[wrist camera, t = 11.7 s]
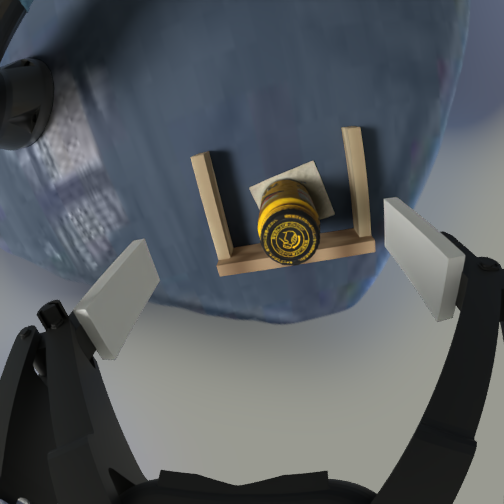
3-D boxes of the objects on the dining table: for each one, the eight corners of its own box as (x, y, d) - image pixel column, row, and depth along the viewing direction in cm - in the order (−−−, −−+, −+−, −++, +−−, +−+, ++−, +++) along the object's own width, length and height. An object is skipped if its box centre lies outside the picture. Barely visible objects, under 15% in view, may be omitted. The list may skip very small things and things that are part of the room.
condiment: (248, 187, 35) (237, 220, 24) (313, 160, 33) (332, 181, 22) (273, 237, 38) (272, 289, 27) (334, 213, 36) (358, 256, 25)
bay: (225, 259, 40) (219, 276, 36) (197, 154, 34) (186, 159, 30) (365, 236, 37) (375, 251, 33) (353, 126, 31) (364, 127, 27)
